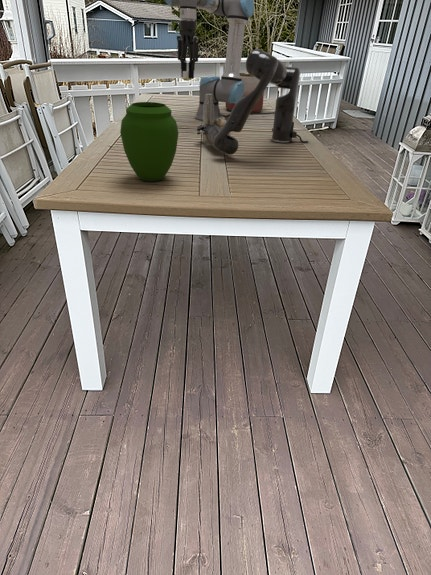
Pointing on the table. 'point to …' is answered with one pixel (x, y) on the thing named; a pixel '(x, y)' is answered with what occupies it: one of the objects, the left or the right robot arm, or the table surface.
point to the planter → (249, 86)
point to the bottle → (207, 114)
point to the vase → (149, 139)
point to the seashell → (220, 122)
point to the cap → (185, 74)
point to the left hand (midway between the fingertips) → (187, 77)
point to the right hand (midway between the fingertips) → (206, 127)
